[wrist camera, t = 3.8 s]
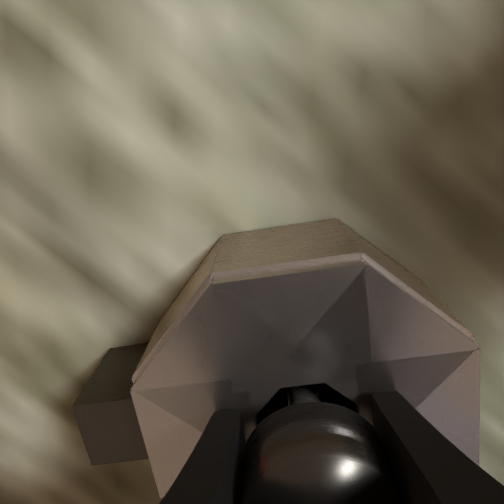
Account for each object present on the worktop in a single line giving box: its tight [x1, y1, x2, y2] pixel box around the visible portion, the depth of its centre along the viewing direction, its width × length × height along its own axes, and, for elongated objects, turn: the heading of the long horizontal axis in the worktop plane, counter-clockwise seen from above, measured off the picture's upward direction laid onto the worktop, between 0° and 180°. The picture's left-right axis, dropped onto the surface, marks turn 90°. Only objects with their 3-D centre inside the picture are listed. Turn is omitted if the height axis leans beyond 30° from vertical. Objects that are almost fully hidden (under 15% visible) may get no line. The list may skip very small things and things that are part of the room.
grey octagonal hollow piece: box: [72, 219, 480, 499], centre depth 12 cm, size 9×10×4 cm
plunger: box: [241, 384, 404, 504], centre depth 11 cm, size 3×3×6 cm
